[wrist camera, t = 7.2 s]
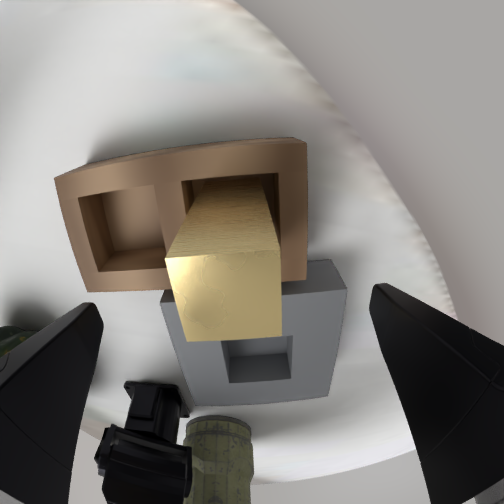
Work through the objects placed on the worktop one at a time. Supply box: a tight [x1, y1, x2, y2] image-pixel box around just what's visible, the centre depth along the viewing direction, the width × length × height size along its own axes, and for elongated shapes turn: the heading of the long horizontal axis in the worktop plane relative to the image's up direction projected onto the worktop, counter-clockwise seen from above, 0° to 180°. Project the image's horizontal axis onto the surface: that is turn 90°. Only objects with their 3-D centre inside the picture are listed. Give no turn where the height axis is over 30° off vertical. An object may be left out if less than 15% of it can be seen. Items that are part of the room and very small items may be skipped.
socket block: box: [160, 260, 347, 406], centre depth 22 cm, size 12×12×4 cm
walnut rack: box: [54, 137, 308, 292], centre depth 17 cm, size 14×8×4 cm, turn 94°
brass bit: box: [165, 177, 282, 342], centre depth 13 cm, size 3×3×10 cm
